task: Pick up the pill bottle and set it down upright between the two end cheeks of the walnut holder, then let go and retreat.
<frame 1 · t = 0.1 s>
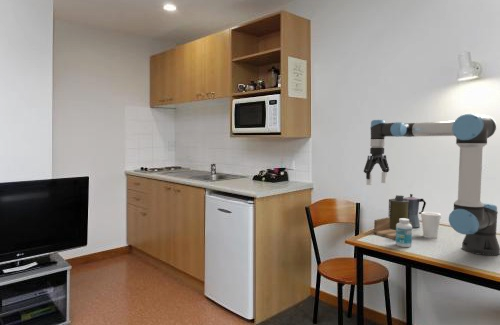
hand: (376, 184, 194), 28 cm above the table, fingers open, 13 cm apart
moka pot: (412, 226, 208), on the table
holder: (392, 235, 188), on the table
foam cup: (430, 237, 186), on the table
pill bottle: (403, 245, 170), on the table
canister: (398, 229, 203), on the table
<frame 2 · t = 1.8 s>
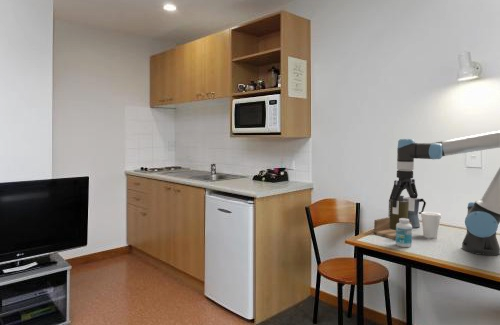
hand: (403, 212, 169), 17 cm above the table, fingers open, 13 cm apart
nothing on the table moved.
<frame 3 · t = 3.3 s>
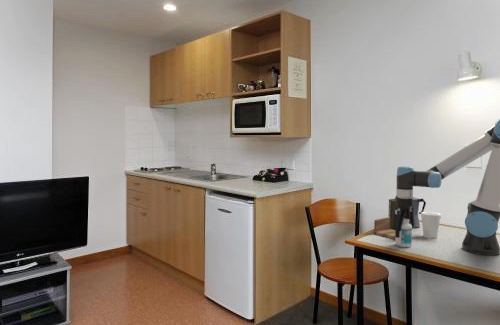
hand: (403, 242, 170), 2 cm above the table, fingers closed on pill bottle, 8 cm apart
pill bottle: (403, 245, 170), on the table, touching gripper
everything else where it was.
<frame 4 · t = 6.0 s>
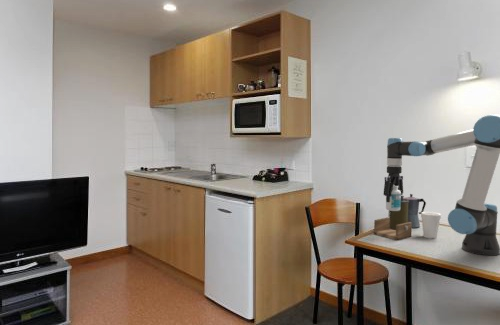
hand: (393, 207, 187), 16 cm above the table, fingers closed on pill bottle, 7 cm apart
pill bottle: (393, 210, 187), point 14 cm above the table, touching gripper
everything else where it was.
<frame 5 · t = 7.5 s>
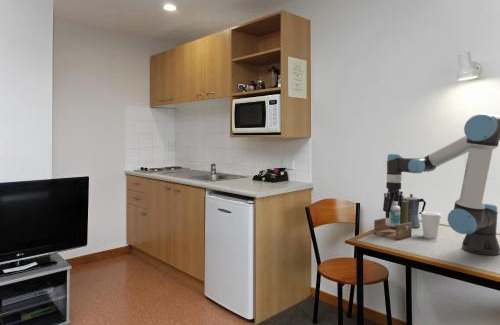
hand: (392, 222, 188), 7 cm above the table, fingers closed on pill bottle, 7 cm apart
pill bottle: (392, 225, 188), point 5 cm above the table, touching gripper
everything else where it was.
when the fingers open (4 cm above the table, at t = 8.6 s): pill bottle stays where it is, resting on holder.
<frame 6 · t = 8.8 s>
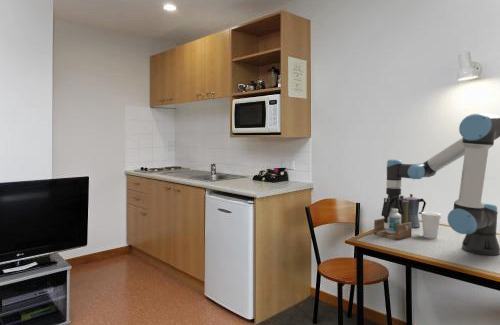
hand: (392, 227, 188), 5 cm above the table, fingers open, 10 cm apart
pill bottle: (392, 233, 188), point 1 cm above the table, touching holder
everything else where it was.
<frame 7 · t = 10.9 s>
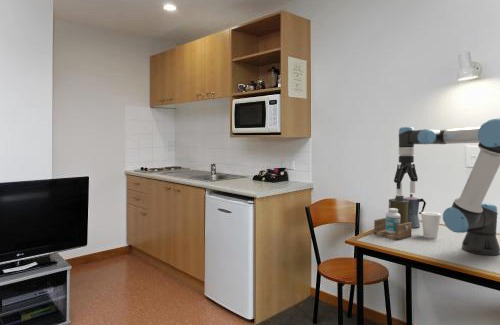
hand: (406, 194, 186), 23 cm above the table, fingers open, 13 cm apart
nothing on the table moved.
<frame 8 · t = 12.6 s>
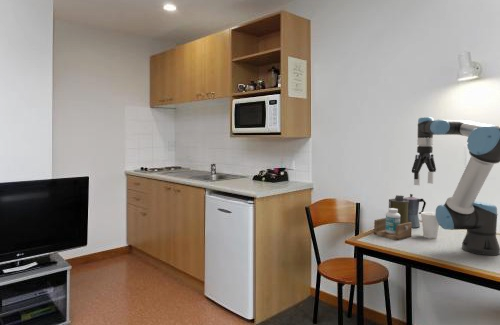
hand: (423, 184, 187), 29 cm above the table, fingers open, 13 cm apart
nothing on the table moved.
at the end: pill bottle inside the target area on the holder (0.1 cm from its centre), point 1.3 cm above the holder's base; pill bottle tilted 0°; the gripper is holding nothing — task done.
